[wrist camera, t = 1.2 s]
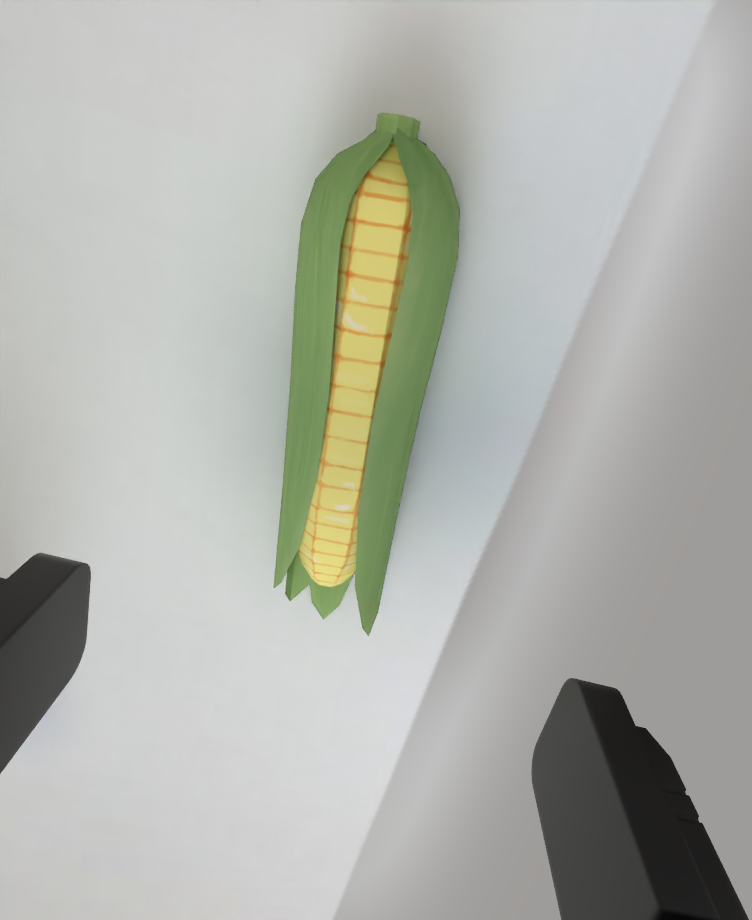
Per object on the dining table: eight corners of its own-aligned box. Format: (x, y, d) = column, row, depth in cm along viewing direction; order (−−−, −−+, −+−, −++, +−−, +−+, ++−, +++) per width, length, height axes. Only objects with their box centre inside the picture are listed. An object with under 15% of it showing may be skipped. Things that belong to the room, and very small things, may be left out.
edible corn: (477, 142, 20) (493, 123, 16) (380, 623, 28) (373, 695, 24) (326, 116, 20) (302, 89, 16) (270, 603, 28) (244, 673, 24)
